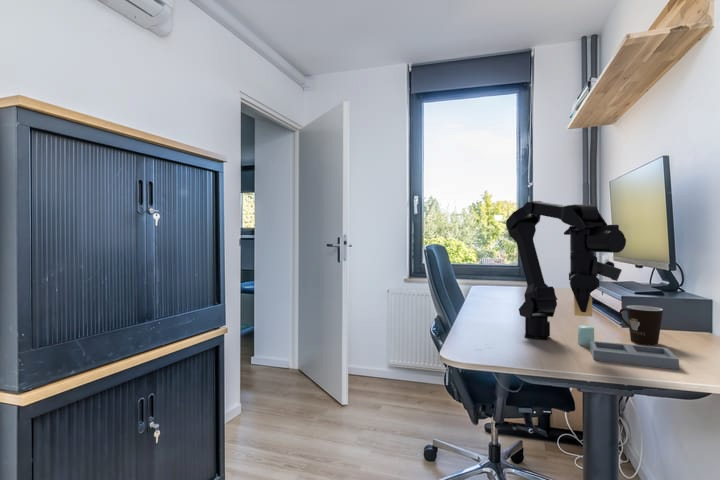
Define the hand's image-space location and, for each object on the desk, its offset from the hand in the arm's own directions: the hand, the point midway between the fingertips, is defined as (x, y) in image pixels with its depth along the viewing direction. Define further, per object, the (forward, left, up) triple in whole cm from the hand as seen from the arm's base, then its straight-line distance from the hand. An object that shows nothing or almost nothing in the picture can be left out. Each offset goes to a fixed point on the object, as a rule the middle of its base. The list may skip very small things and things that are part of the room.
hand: (583, 310), depth 103 cm
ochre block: (0, 0, -1) cm, 1 cm away
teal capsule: (+1, +10, -11) cm, 15 cm away
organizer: (+10, 0, -11) cm, 15 cm away
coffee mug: (+16, +21, -12) cm, 29 cm away
